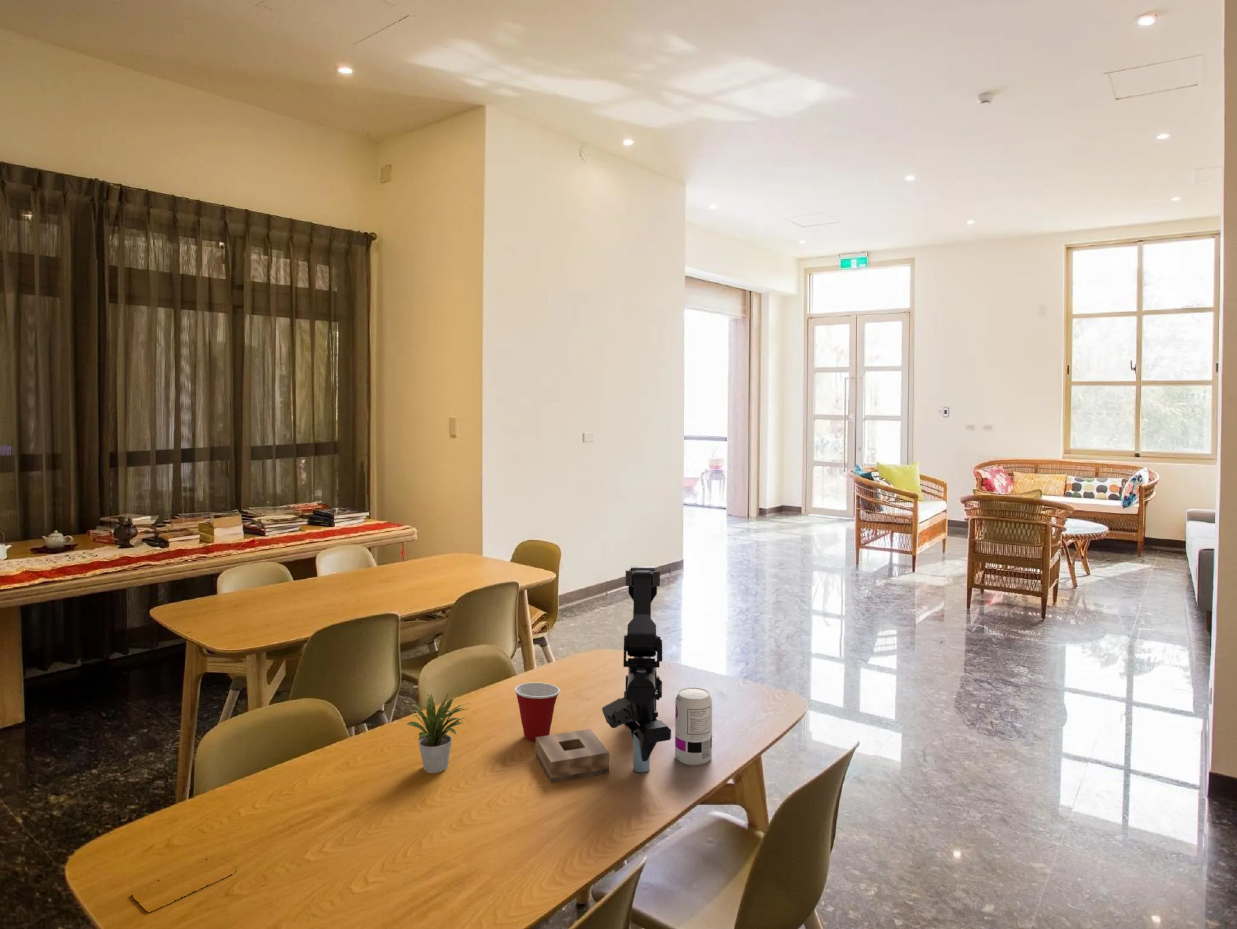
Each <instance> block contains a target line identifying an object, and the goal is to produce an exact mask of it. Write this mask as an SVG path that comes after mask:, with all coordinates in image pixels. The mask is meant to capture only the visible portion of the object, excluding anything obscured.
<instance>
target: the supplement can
mask: <svg viewBox="0 0 1237 929" xmlns="http://www.w3.org/2000/svg"><path fill="white" fill-rule="evenodd" d="M674 703H675V707H674V708H675V712H674V713H675V715H674V716H675V718H674V720H675V722H674V724H675V726H674V728H675V730H674V731H675V733H674V734H675V737H674V739H675V741H674V756H675V758H676V759H677V760H678V761H679V762H680V763H682V764H684V765H687V766H688V765H689V766H700V765H701V766H702V765H705V764H707V763H709V761H710V760H711V759H712V754H713V750H712V748H713V744H712V743H713V699H712V696H711V694H710V692H709V691H708V690H706V689H704V688H701V687H685V688H682V689H680V690H678V693H677V695H676V697H675V702H674Z"/></svg>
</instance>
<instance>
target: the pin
mask: <svg viewBox="0 0 1237 929" xmlns="http://www.w3.org/2000/svg"><path fill="white" fill-rule="evenodd" d="M634 732H638V730H635V731H634ZM634 732H633V733H634ZM650 757H651V755H650V756H649V758H648V760H647V761H642V757H641V750H640V742H639V739H638V738H637V737H636V736H635V735H634V734H633V742H632V763H633V764H632V770H633V771H635V772H636V773H646V772H649V771H650V768H651V767H650V765H651V764H650V762H651V758H650Z"/></svg>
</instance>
